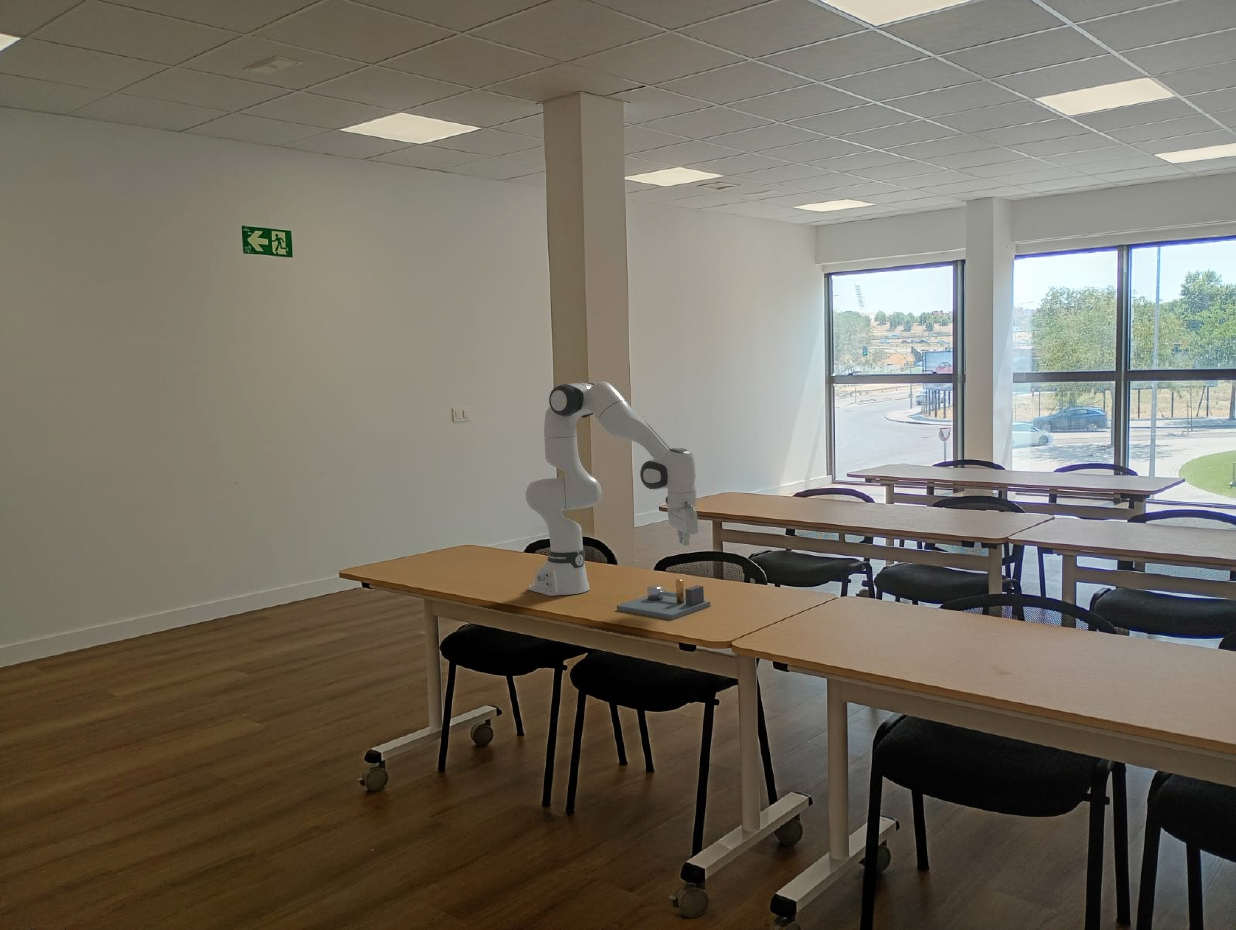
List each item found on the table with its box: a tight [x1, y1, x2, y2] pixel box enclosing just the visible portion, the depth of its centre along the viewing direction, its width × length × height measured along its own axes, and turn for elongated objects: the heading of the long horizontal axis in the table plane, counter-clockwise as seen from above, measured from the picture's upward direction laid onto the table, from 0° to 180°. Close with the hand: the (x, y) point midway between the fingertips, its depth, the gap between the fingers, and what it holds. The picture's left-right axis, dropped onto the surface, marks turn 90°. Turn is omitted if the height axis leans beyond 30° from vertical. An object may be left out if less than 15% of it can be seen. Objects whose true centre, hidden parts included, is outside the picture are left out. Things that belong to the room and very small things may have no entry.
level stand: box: [616, 584, 711, 621], centre depth 296 cm, size 22×19×6 cm
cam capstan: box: [646, 578, 685, 603], centre depth 299 cm, size 14×5×7 cm, turn 48°
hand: (684, 544), depth 298 cm, fingers closed
